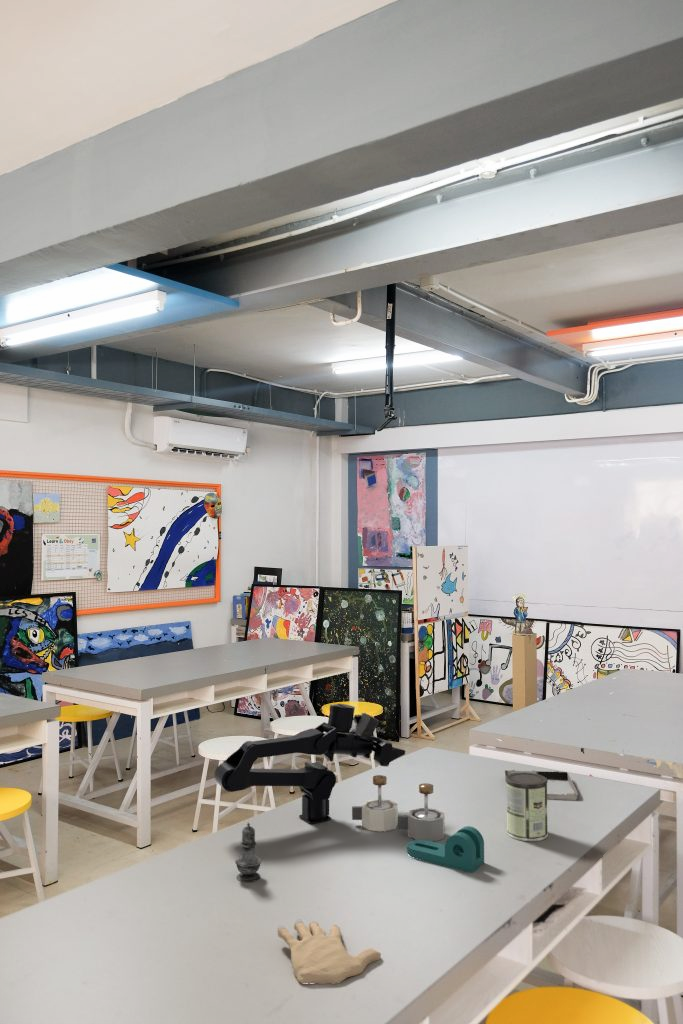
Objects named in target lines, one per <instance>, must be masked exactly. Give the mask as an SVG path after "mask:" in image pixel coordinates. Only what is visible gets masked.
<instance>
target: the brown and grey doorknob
mask: <svg viewBox="0 0 683 1024" xmlns="http://www.w3.org/2000/svg"><path fill="white" fill-rule="evenodd" d="M387 779H388V778H387V776H386V775H381V774H376V775H374V776H372V784H373V785H374V786H377V799H378V802H372V803H370V804H369V808H370V809H376V810H385V809H390V804H389V803H386V802H381V800H382V787H383V786H385V785H387V784H388V783H387V781H388V780H387Z"/></svg>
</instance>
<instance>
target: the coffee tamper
mask: <svg viewBox="0 0 683 1024" xmlns="http://www.w3.org/2000/svg"><path fill="white" fill-rule="evenodd" d="M418 793H420V794H422V795H424V797H423V798H424V799H423V801H424V805H423V806H424V807H423V808H424V811H418V812H416V813H415V817H416V818H418V819H429V820H431V819H435V818H437V813H435V812H432V811H428V808H429V795H432V794H433V793H434V785H433V784H432V783H429V782H428V783H425V782H424V783H420V784H419V785H418Z"/></svg>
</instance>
